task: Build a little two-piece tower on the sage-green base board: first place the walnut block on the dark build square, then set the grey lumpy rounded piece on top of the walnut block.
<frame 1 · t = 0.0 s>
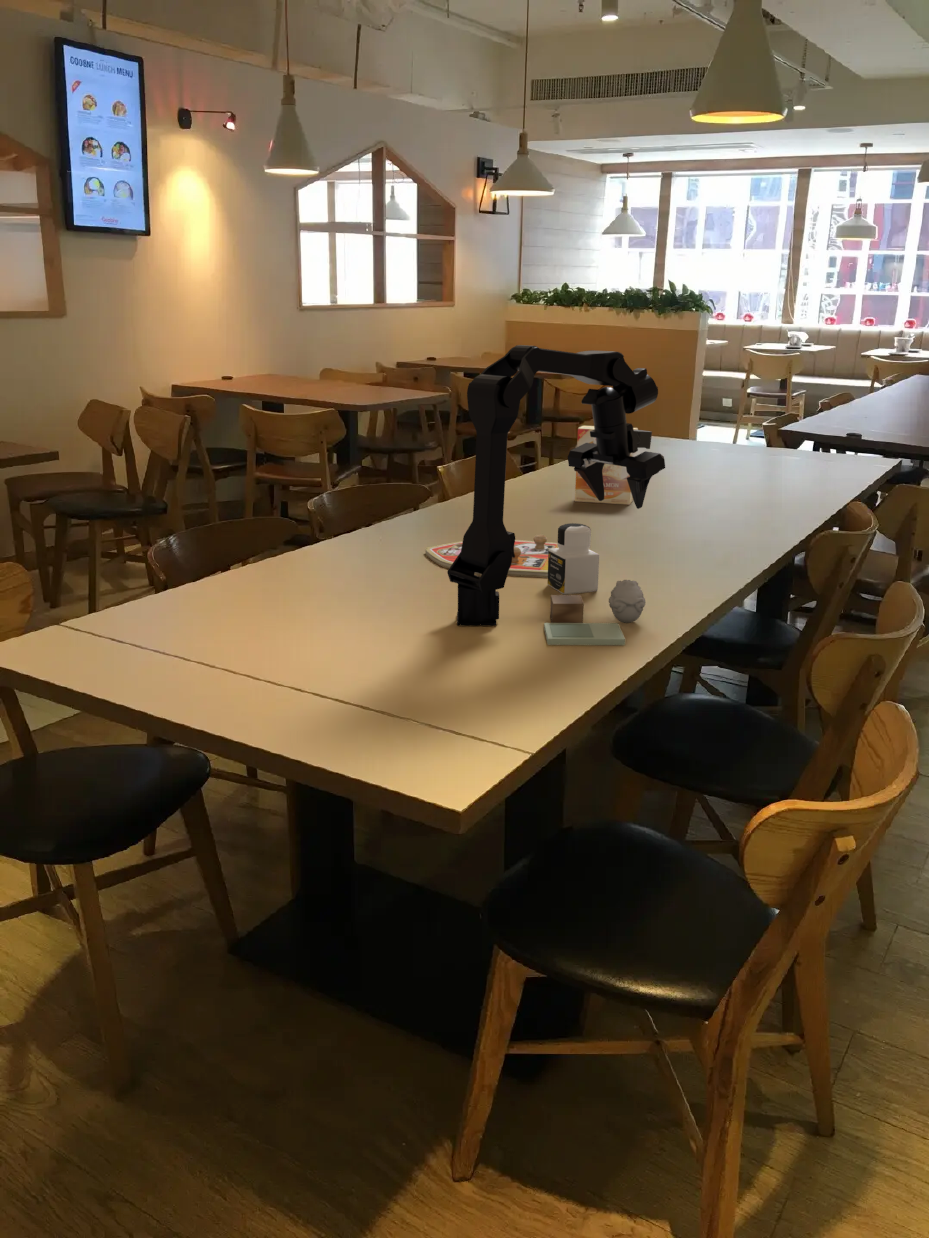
hand: (620, 504, 181), 15 cm above the table, tool pointing down, fingers open, 9 cm apart
walnut block: (566, 622, 165), on the table
base board: (583, 636, 157), on the table
medicine bottle: (572, 589, 184), on the table
coffeecake box: (604, 501, 265), on the table
knob puzzle: (494, 561, 206), on the table
grey lumpy rounded piece: (626, 622, 165), on the table
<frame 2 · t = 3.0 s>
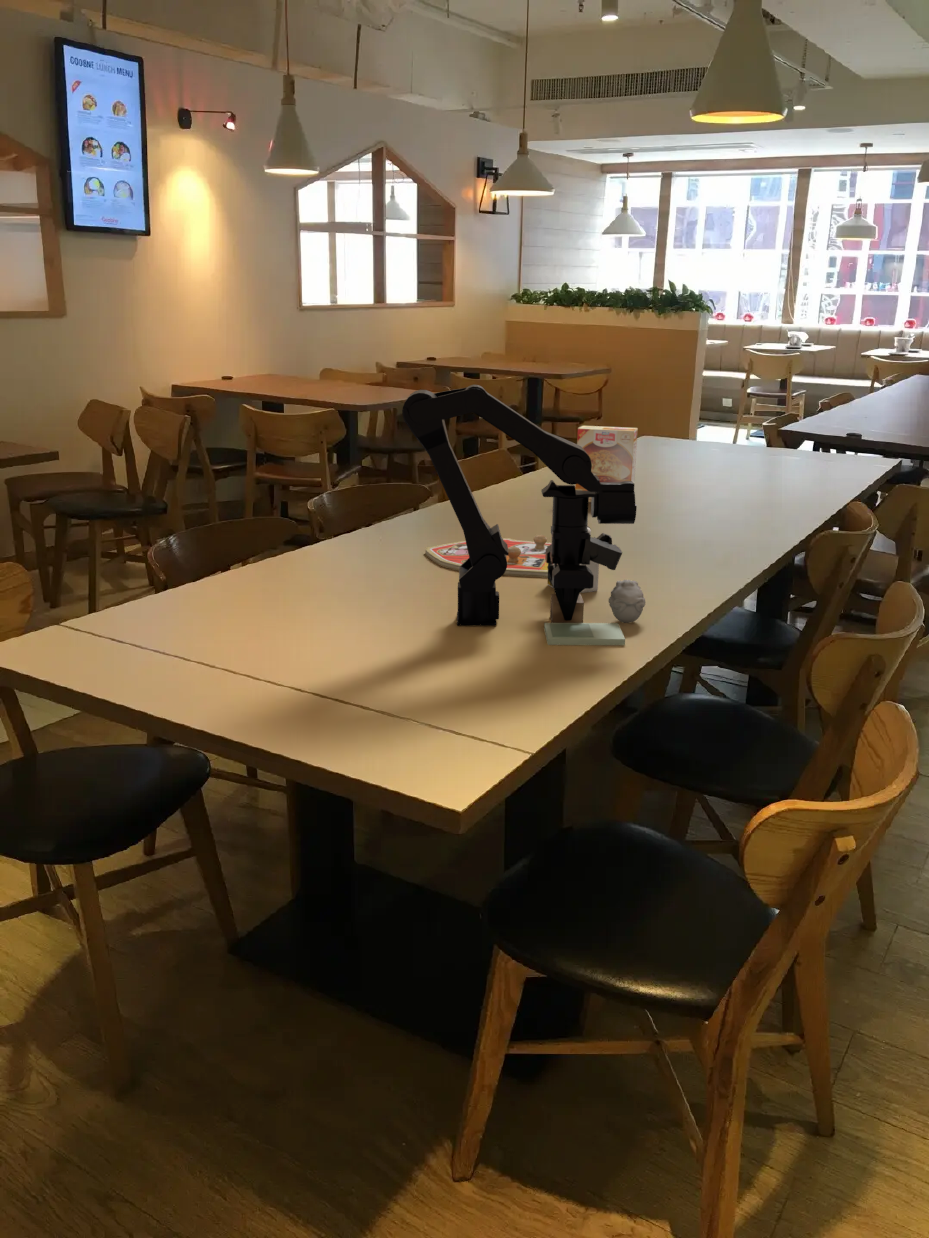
hand: (566, 615, 165), 1 cm above the table, tool pointing down, fingers closed on walnut block, 5 cm apart
walnut block: (566, 621, 165), on the table, touching gripper
everything else where it was.
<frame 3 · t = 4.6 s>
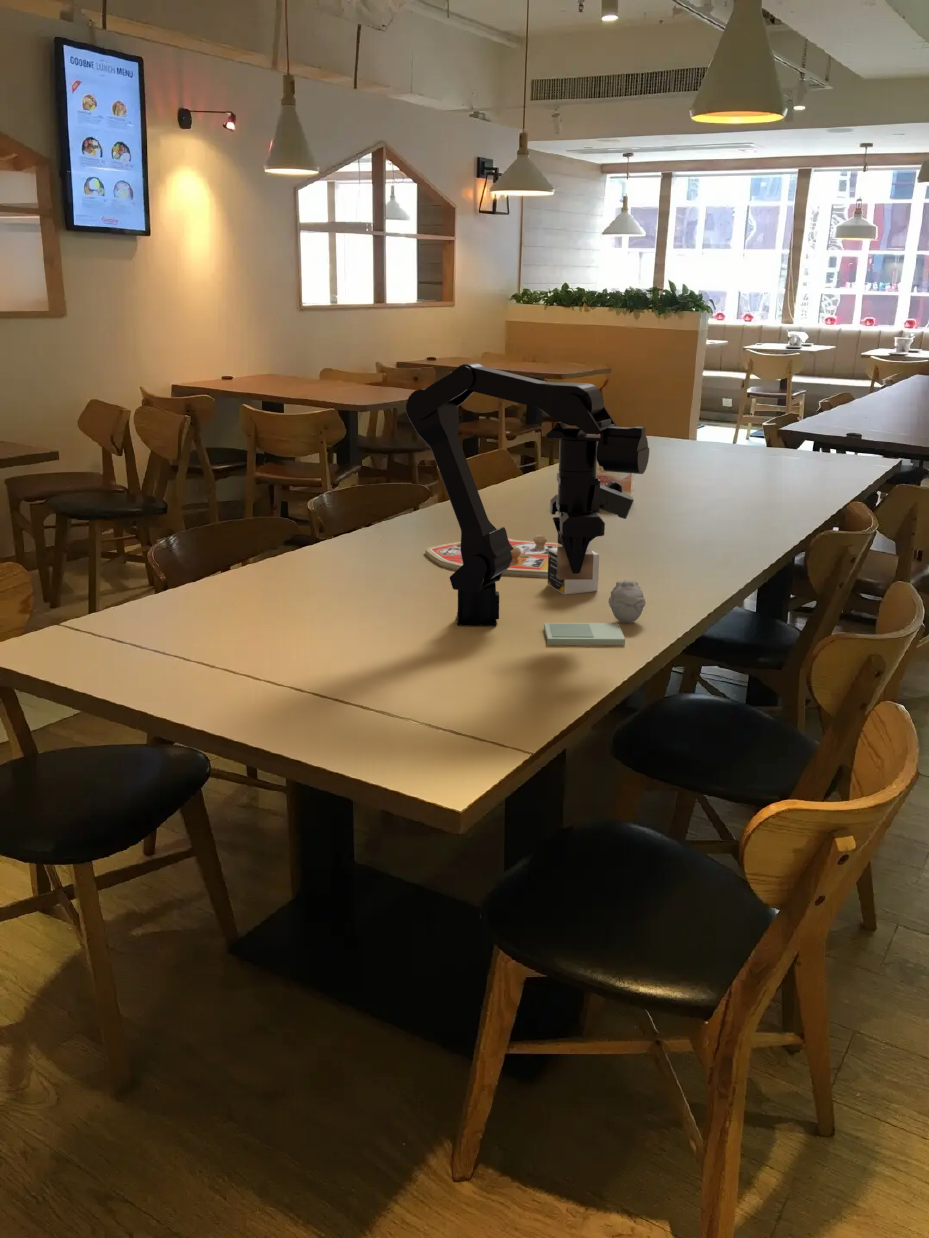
hand: (574, 568, 154), 11 cm above the table, tool pointing down, fingers closed on walnut block, 5 cm apart
walnut block: (574, 575, 155), point 10 cm above the table, touching gripper
everything else where it was.
when the fingers open (3 cm above the table, at t = 6.4 s): walnut block drops 1 cm, resting on base board.
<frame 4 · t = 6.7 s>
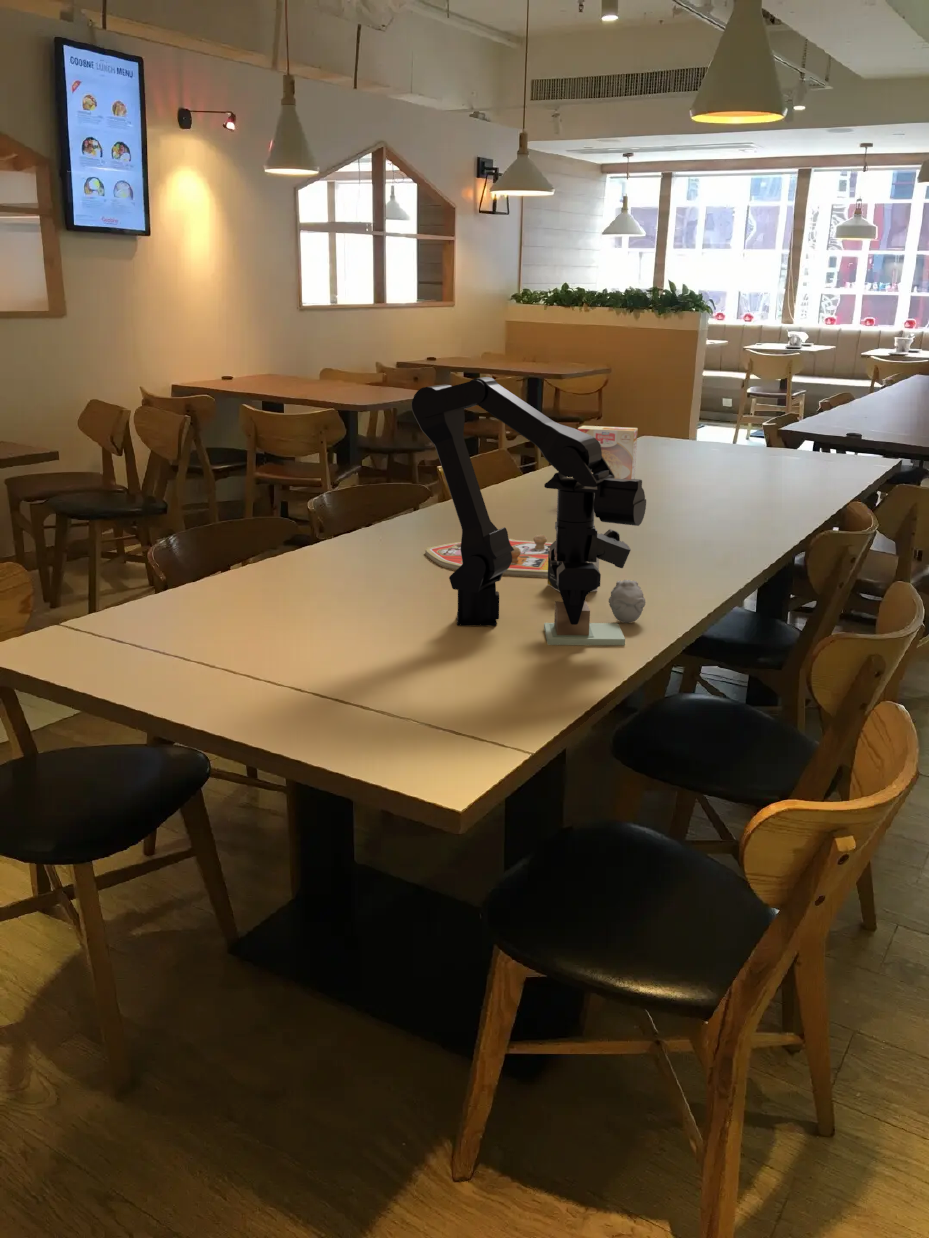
hand: (571, 615, 156), 3 cm above the table, tool pointing down, fingers open, 8 cm apart
walnut block: (571, 630, 157), point 1 cm above the table, touching base board
everything else where it was.
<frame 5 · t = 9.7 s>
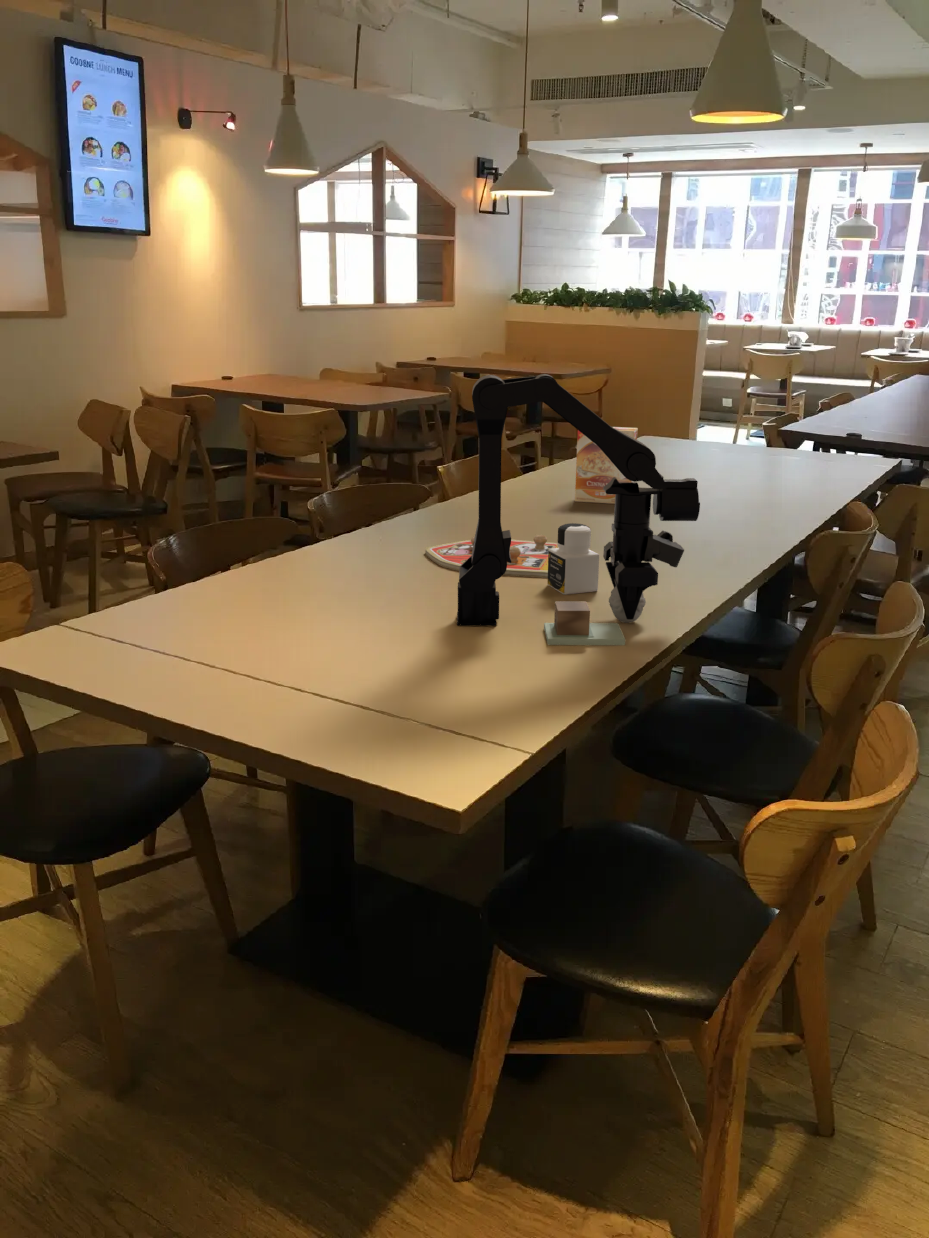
hand: (626, 612, 164), 2 cm above the table, tool pointing down, fingers closed on grey lumpy rounded piece, 7 cm apart
grey lumpy rounded piece: (626, 622, 165), on the table, touching gripper
everything else where it was.
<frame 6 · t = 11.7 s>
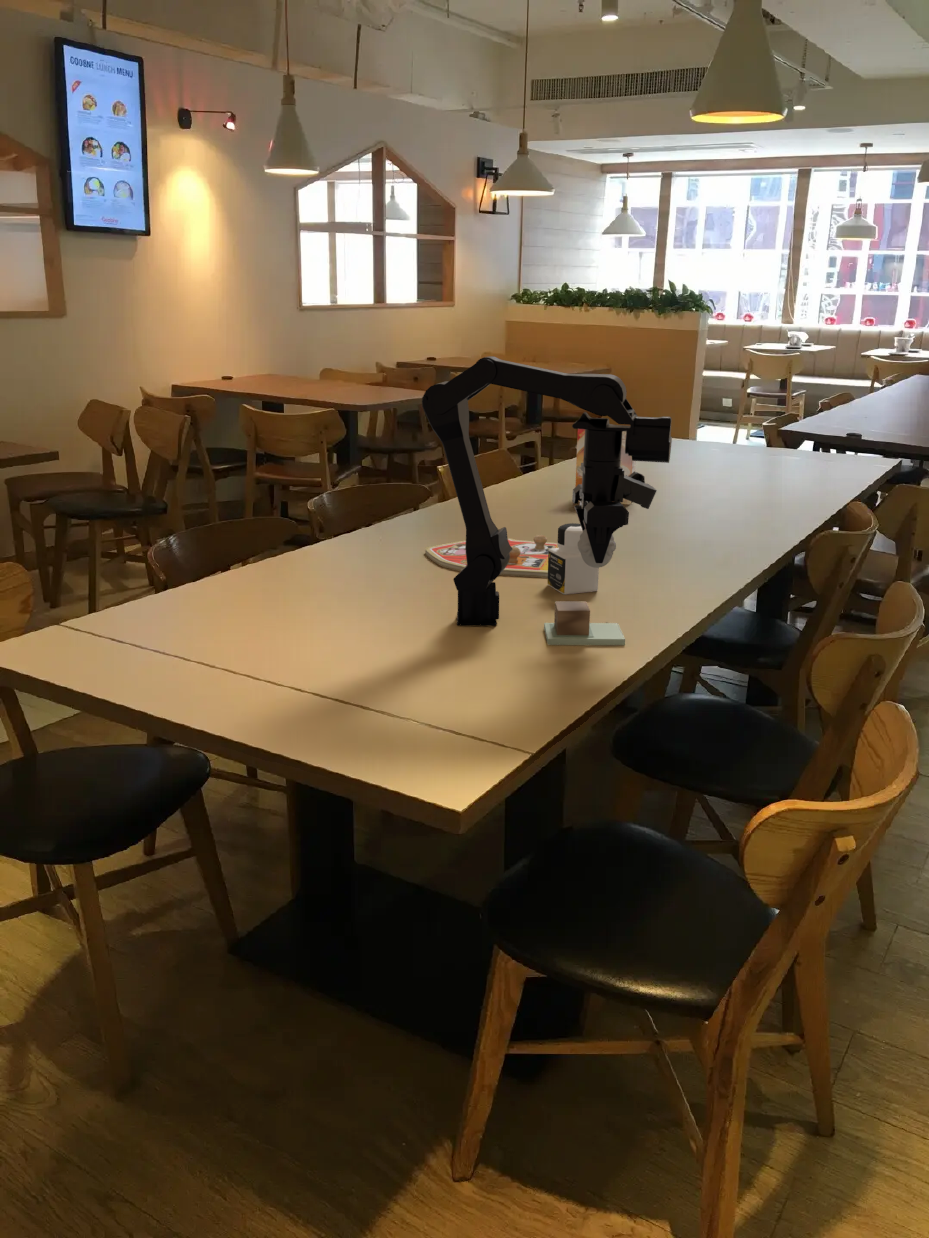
hand: (595, 557, 157), 12 cm above the table, tool pointing down, fingers closed on grey lumpy rounded piece, 7 cm apart
grey lumpy rounded piece: (595, 567, 157), point 10 cm above the table, touching gripper
everything else where it was.
when the fingers open (8 cm above the table, at t = 13.7 s): grey lumpy rounded piece drops 1 cm, resting on walnut block.
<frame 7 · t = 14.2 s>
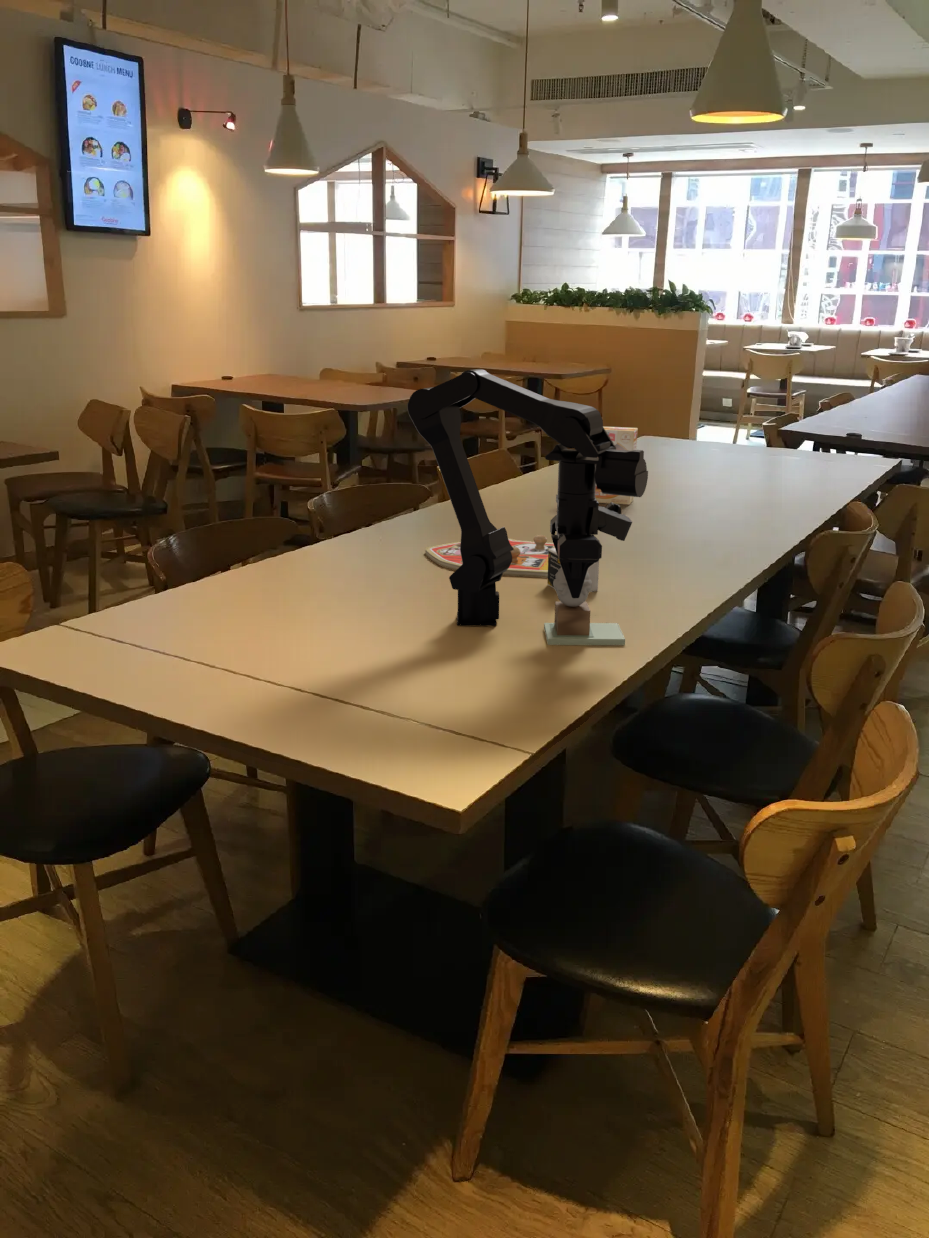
hand: (572, 589, 155), 8 cm above the table, tool pointing down, fingers open, 9 cm apart
walnut block: (571, 630, 157), point 1 cm above the table, touching base board, grey lumpy rounded piece
grey lumpy rounded piece: (571, 606, 156), point 5 cm above the table, touching walnut block
everything else where it was.
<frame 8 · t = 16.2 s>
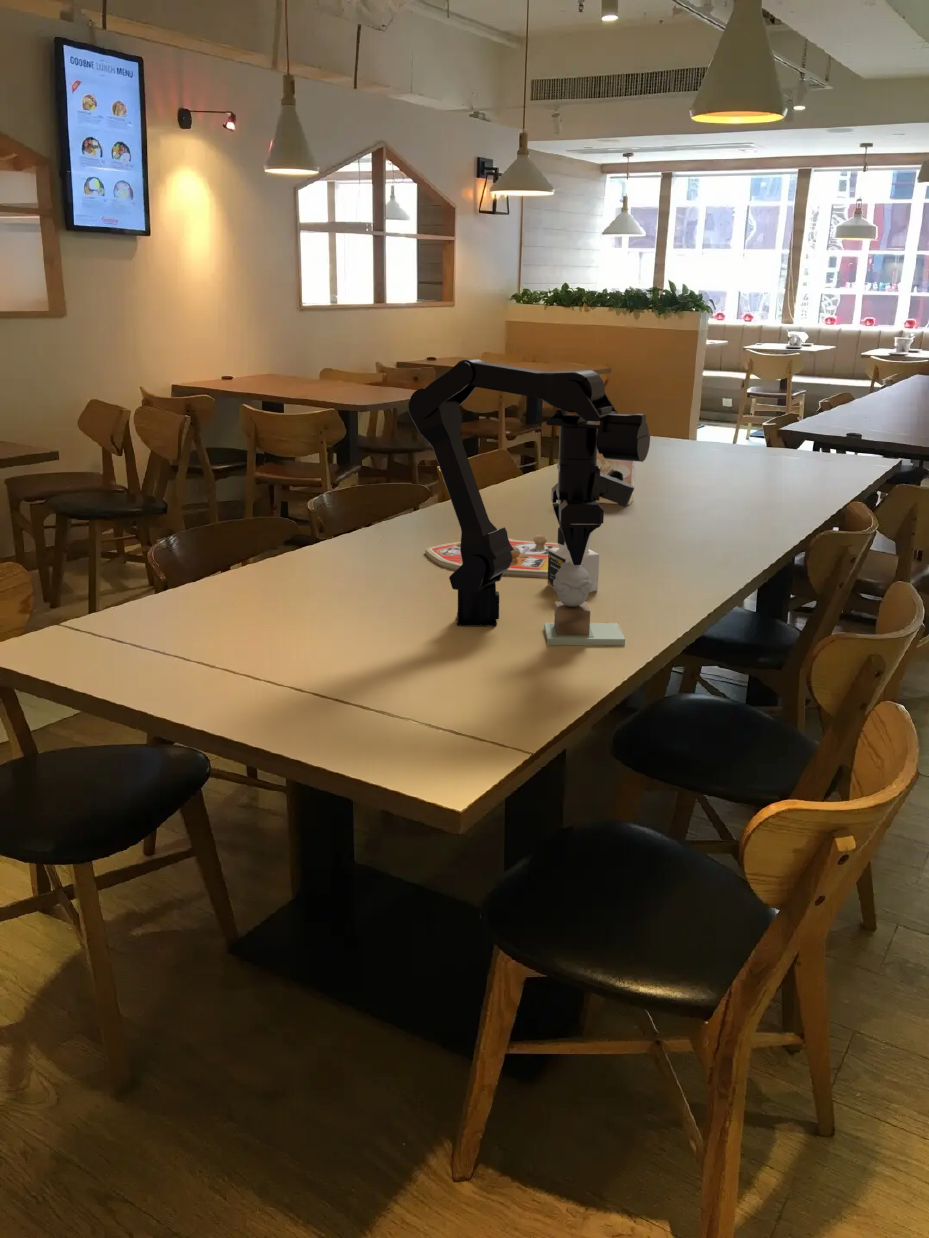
hand: (574, 557, 153), 13 cm above the table, tool pointing down, fingers open, 9 cm apart
nothing on the table moved.
at the end: walnut block 0.1 cm from the target spot, point 1.1 cm above the table; grey lumpy rounded piece 0.3 cm from the walnut block (horizontally); grey lumpy rounded piece point 4.9 cm above the table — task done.
